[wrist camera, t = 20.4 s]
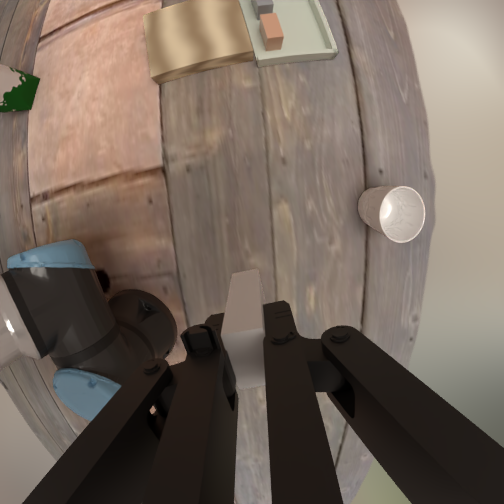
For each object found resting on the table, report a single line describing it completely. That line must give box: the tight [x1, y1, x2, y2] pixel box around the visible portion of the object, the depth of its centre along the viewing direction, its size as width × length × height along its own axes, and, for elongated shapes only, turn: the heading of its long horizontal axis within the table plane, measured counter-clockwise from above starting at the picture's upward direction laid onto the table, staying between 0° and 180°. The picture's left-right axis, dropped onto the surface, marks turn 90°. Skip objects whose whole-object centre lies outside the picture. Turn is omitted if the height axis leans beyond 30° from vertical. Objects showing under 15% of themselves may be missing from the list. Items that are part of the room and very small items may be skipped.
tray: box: [239, 0, 339, 67], centre depth 34 cm, size 13×17×3 cm
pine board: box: [143, 0, 253, 84], centre depth 34 cm, size 16×14×4 cm
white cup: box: [358, 186, 425, 243], centre depth 39 cm, size 8×8×10 cm
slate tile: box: [251, 0, 274, 21], centre depth 32 cm, size 5×5×2 cm
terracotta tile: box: [259, 13, 284, 51], centre depth 33 cm, size 5×5×2 cm
